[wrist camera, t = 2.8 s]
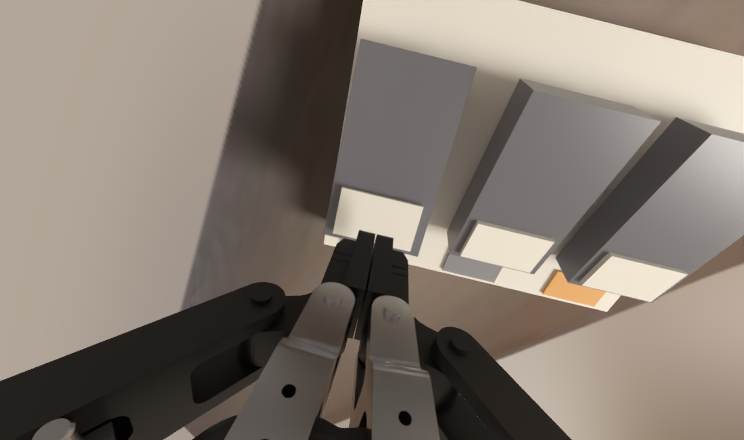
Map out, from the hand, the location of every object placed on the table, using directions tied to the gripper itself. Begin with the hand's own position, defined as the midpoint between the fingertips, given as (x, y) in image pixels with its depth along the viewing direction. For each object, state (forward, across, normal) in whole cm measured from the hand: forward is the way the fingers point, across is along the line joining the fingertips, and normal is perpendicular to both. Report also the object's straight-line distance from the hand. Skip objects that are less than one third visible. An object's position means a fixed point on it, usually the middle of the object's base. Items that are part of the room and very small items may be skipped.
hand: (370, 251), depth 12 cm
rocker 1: (+4, 0, -3) cm, 5 cm away
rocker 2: (+4, -14, -3) cm, 15 cm away
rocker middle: (+4, -7, -3) cm, 9 cm away
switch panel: (+9, -7, -3) cm, 12 cm away
